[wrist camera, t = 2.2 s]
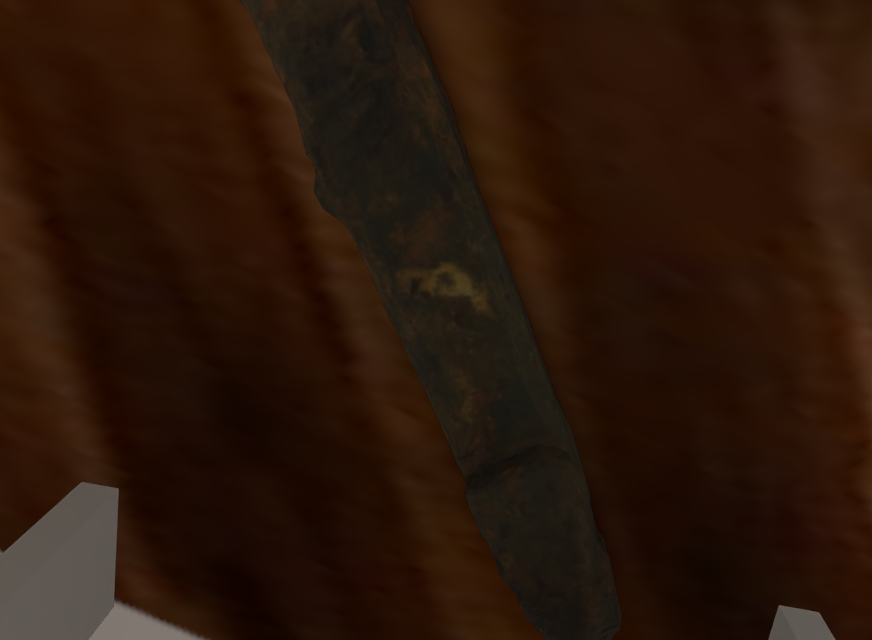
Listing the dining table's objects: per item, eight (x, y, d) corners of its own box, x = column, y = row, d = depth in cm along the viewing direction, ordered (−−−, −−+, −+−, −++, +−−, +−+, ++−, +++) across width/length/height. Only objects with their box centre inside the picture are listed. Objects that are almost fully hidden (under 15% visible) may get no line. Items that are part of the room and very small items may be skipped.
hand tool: (225, -63, 19) (137, -107, 14) (384, -134, 18) (344, -203, 14) (495, 611, 23) (492, 736, 19) (631, 574, 23) (661, 695, 18)
